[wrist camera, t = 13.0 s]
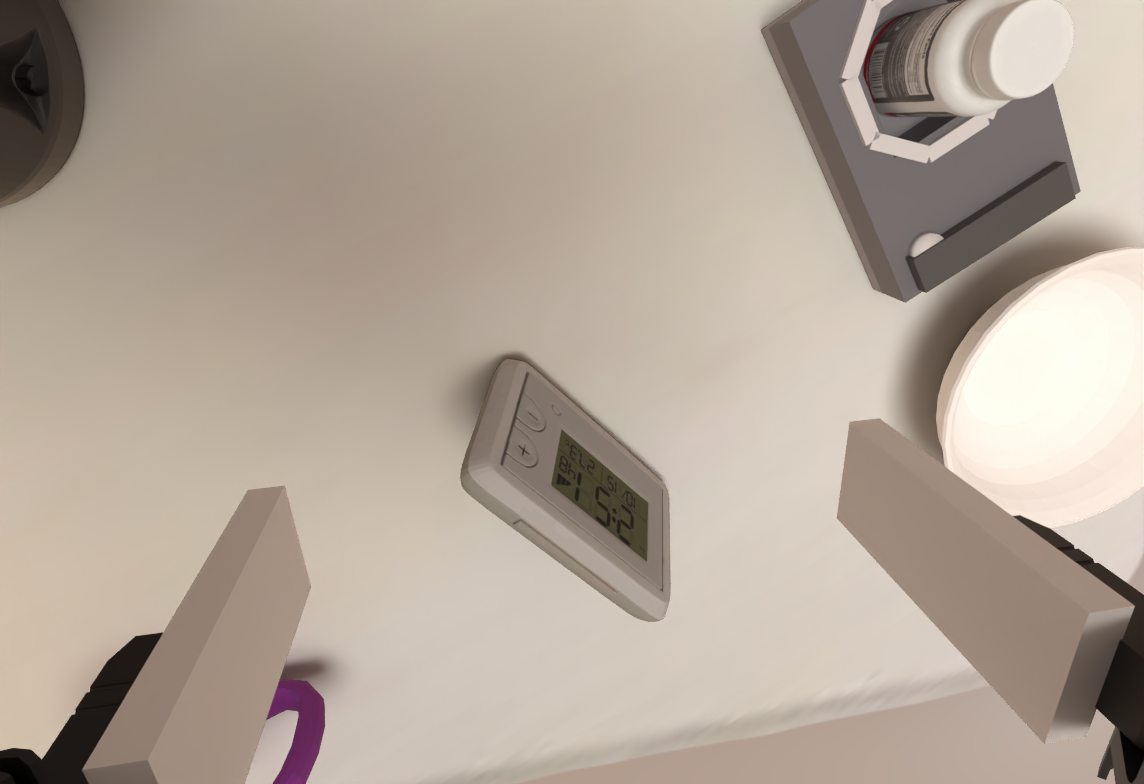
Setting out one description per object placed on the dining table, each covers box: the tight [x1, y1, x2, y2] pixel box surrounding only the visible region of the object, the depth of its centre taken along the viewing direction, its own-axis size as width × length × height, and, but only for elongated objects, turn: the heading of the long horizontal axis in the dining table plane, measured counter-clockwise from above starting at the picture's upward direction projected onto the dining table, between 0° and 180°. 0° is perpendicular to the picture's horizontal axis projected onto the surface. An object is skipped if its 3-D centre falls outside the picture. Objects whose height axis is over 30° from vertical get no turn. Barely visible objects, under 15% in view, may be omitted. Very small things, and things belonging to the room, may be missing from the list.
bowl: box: [936, 247, 1144, 528], centre depth 45 cm, size 20×20×6 cm
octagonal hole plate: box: [761, 0, 1080, 302], centre depth 38 cm, size 18×12×4 cm, turn 33°
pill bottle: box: [861, 0, 1074, 117], centre depth 33 cm, size 5×5×10 cm
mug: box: [266, 680, 325, 784], centre depth 42 cm, size 9×16×15 cm, turn 101°
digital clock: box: [460, 359, 670, 622], centre depth 40 cm, size 16×9×11 cm, turn 33°
